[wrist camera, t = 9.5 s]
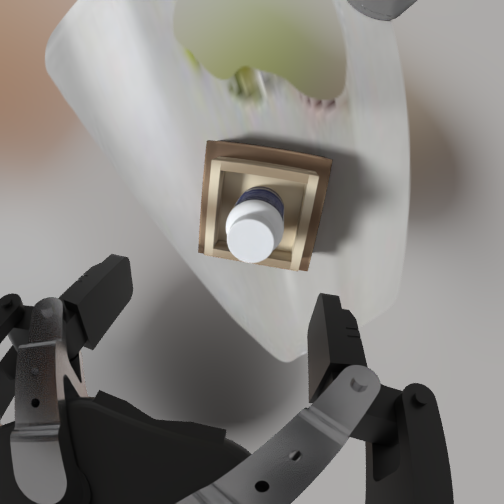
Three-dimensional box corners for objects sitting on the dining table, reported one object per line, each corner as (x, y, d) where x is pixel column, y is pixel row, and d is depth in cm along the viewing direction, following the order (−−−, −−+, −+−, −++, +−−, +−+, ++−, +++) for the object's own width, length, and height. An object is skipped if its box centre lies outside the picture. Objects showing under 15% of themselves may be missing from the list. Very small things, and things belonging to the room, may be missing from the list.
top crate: (219, 156, 30) (211, 159, 27) (315, 171, 29) (319, 176, 26) (211, 242, 35) (204, 254, 31) (297, 257, 34) (298, 271, 31)
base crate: (217, 139, 34) (206, 140, 29) (326, 155, 33) (332, 160, 28) (208, 237, 40) (198, 252, 35) (305, 254, 39) (307, 271, 35)
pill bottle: (235, 186, 30) (214, 211, 22) (283, 183, 30) (281, 208, 21) (240, 230, 33) (222, 271, 24) (285, 228, 32) (284, 270, 23)
